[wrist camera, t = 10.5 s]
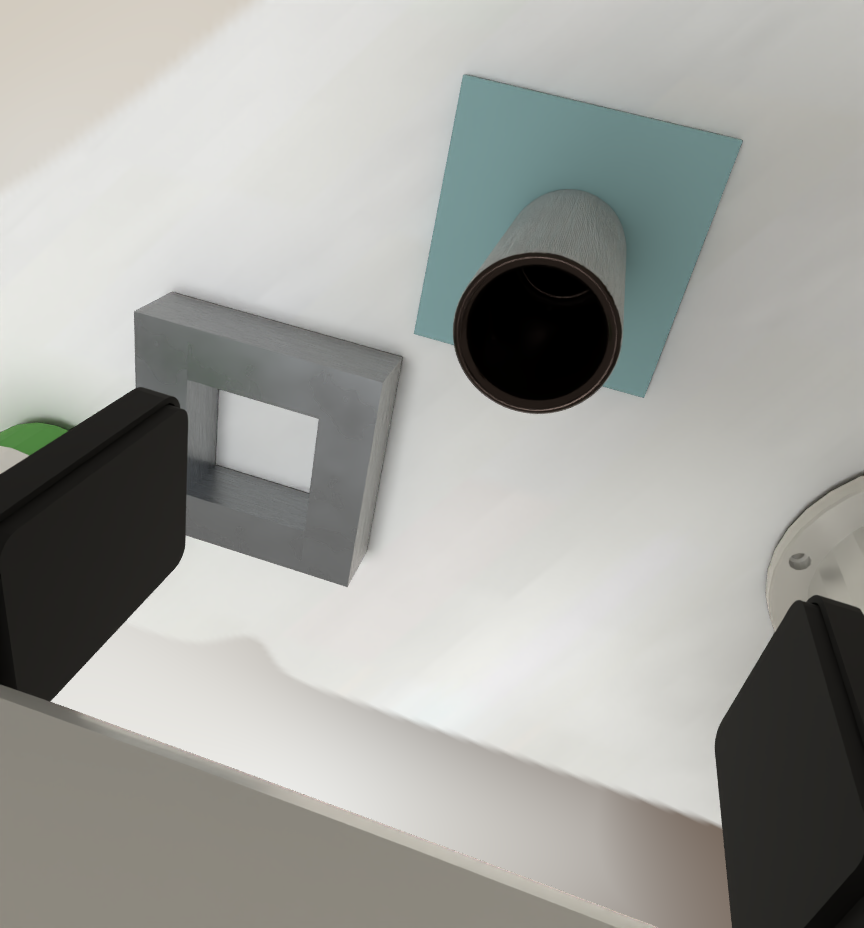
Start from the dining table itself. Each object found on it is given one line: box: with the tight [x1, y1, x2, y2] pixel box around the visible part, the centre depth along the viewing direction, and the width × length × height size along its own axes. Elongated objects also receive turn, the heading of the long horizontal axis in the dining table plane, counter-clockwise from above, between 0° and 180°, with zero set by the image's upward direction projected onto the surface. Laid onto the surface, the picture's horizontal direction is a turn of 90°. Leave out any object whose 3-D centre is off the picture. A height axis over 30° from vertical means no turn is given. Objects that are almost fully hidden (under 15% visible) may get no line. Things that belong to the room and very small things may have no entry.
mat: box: [414, 75, 743, 398], centre depth 29 cm, size 10×10×1 cm
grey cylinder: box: [453, 189, 626, 414], centre depth 24 cm, size 4×4×10 cm
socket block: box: [134, 292, 403, 587], centre depth 35 cm, size 11×11×3 cm
